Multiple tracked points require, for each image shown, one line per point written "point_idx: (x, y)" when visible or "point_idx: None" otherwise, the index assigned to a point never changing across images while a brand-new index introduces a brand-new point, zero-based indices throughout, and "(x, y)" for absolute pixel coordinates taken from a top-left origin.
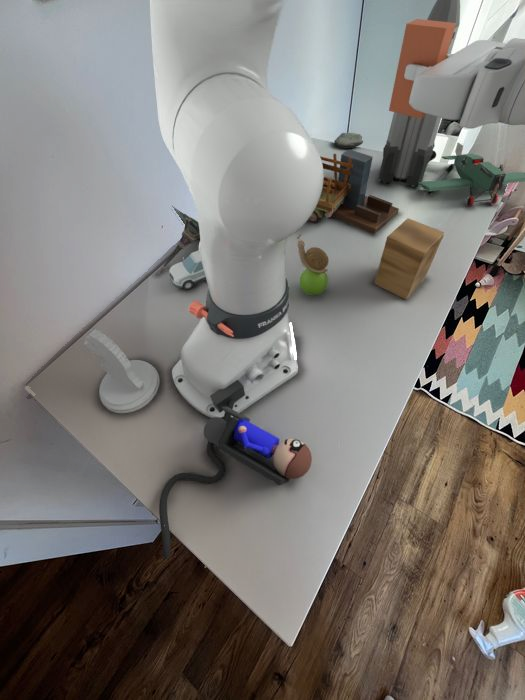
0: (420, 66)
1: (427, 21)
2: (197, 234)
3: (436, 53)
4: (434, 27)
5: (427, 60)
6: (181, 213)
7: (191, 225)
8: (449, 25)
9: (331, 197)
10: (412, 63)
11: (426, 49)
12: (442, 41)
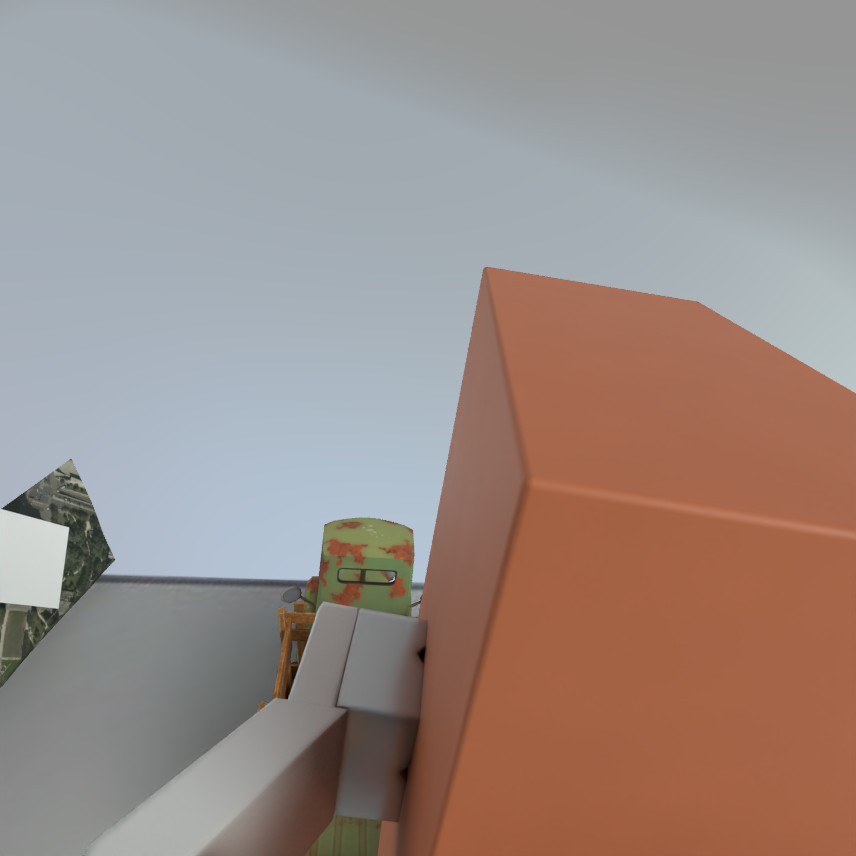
0: (263, 734)
1: (701, 332)
2: (71, 581)
3: (433, 797)
4: (503, 370)
5: (421, 748)
6: (19, 505)
7: (32, 548)
8: (830, 506)
9: (364, 849)
10: (370, 624)
11: (446, 604)
12: (462, 705)
